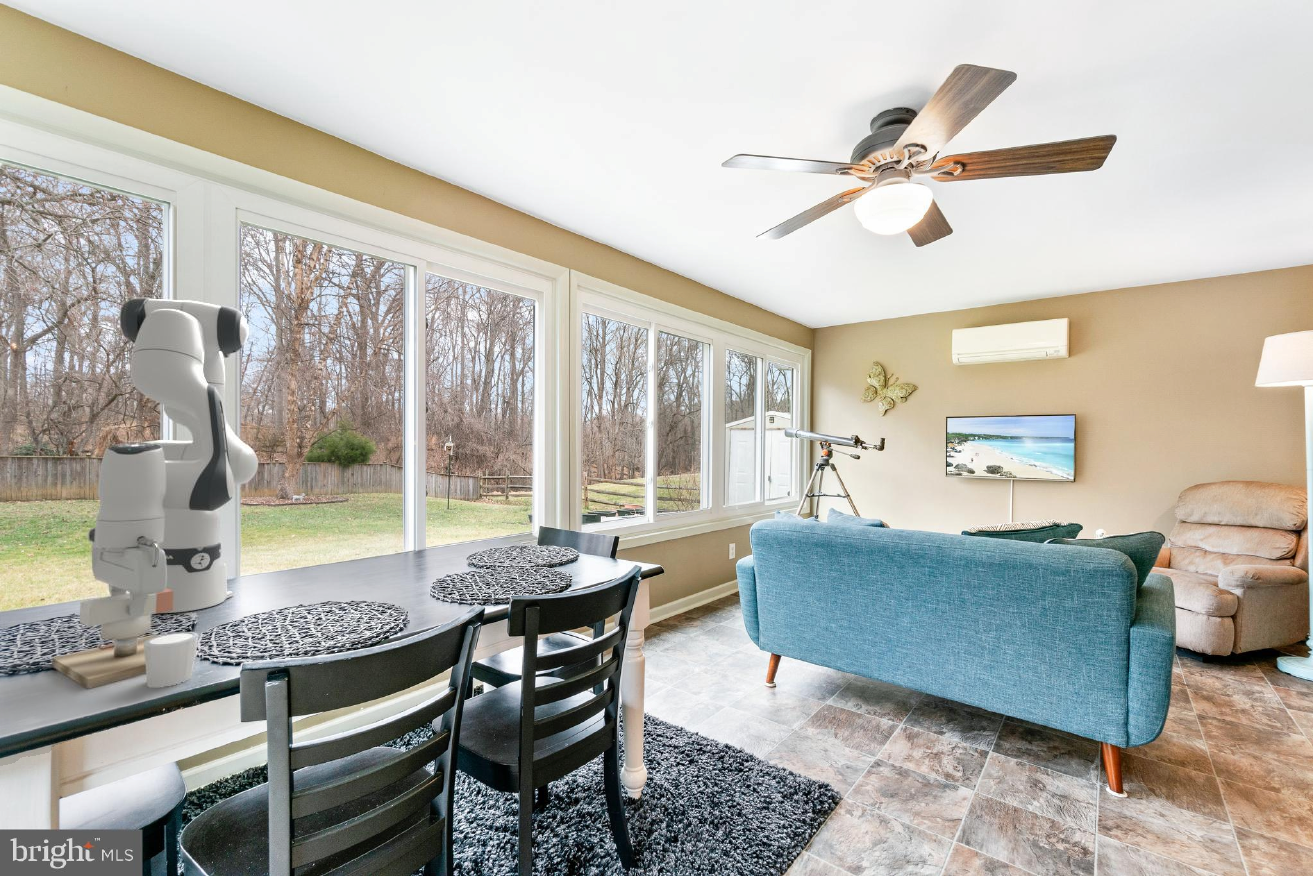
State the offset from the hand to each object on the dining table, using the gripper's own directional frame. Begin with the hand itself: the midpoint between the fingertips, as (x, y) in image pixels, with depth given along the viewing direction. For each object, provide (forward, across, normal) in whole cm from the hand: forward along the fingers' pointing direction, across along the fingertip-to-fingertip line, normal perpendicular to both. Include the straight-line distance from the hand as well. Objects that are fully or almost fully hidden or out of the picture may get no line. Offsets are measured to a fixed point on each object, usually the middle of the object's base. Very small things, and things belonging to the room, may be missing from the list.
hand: (127, 612), depth 98 cm
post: (+7, 0, 0) cm, 7 cm away
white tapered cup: (+9, -14, -1) cm, 17 cm away
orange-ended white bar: (+4, 0, 0) cm, 4 cm away
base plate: (+9, 0, 0) cm, 9 cm away
